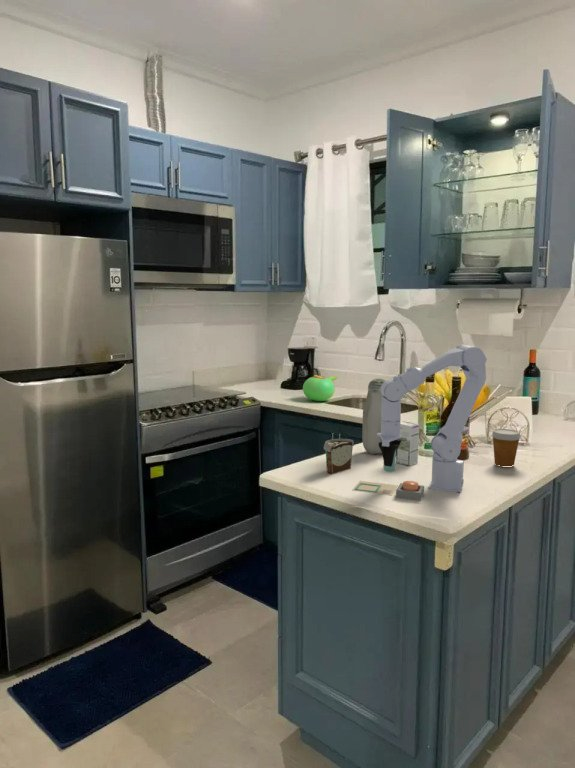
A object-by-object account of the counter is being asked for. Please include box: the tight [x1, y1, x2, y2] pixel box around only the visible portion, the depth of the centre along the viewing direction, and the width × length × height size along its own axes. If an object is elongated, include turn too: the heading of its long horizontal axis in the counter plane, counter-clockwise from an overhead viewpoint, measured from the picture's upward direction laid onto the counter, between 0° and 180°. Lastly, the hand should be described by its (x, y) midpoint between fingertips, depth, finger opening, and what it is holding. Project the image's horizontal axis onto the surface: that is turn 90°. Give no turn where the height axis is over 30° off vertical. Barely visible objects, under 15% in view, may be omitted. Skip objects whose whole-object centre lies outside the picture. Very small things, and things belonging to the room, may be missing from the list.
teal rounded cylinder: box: [382, 450, 397, 473], centre depth 181 cm, size 4×4×8 cm
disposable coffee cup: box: [491, 428, 522, 466], centre depth 207 cm, size 10×10×12 cm
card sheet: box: [352, 480, 399, 496], centre depth 181 cm, size 12×10×1 cm
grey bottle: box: [361, 378, 387, 455], centre depth 220 cm, size 10×10×28 cm
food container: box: [323, 438, 355, 475], centre depth 199 cm, size 12×6×10 cm, turn 134°
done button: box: [402, 480, 419, 492], centre depth 174 cm, size 4×4×2 cm
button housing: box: [395, 482, 425, 502], centre depth 174 cm, size 7×7×3 cm
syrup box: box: [396, 420, 420, 467], centre depth 208 cm, size 6×6×14 cm
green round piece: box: [302, 374, 339, 402], centre depth 330 cm, size 18×17×15 cm
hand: (389, 464), depth 181 cm, fingers closed on teal rounded cylinder, 4 cm apart
